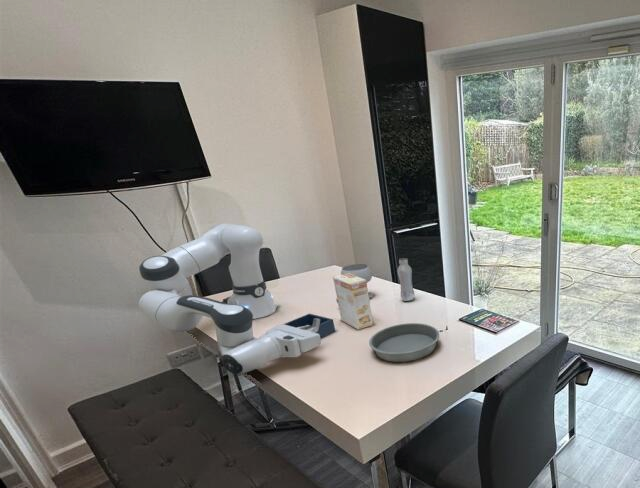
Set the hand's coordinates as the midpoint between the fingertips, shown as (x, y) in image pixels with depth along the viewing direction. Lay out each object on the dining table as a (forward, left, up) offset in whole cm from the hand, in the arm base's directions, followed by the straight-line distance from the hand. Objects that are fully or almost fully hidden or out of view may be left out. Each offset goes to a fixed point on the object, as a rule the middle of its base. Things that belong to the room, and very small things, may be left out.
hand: (313, 327), depth 147 cm
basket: (-12, +6, -8) cm, 15 cm away
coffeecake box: (-4, +23, -8) cm, 25 cm away
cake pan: (+30, +14, -8) cm, 34 cm away
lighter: (0, -1, -5) cm, 5 cm away
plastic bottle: (-2, +53, -8) cm, 54 cm away
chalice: (-26, +46, -8) cm, 53 cm away
